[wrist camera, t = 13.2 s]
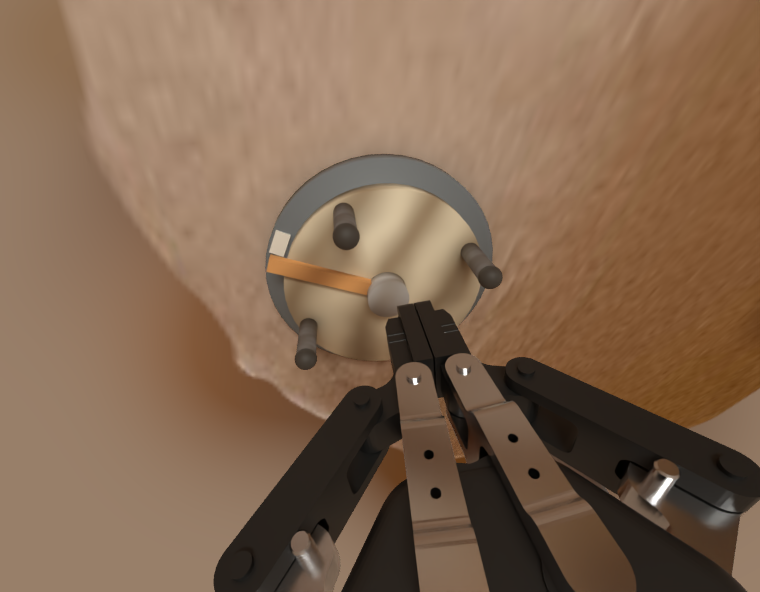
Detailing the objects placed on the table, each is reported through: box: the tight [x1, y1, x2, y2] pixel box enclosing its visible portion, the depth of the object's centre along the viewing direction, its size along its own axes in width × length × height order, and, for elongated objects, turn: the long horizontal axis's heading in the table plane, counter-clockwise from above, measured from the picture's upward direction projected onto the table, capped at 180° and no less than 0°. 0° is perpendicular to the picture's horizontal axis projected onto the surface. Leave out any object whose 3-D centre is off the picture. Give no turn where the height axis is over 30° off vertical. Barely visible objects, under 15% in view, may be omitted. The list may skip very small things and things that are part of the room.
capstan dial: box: [266, 183, 502, 370], centre depth 32 cm, size 22×20×8 cm
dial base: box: [265, 154, 493, 355], centre depth 36 cm, size 24×24×2 cm
